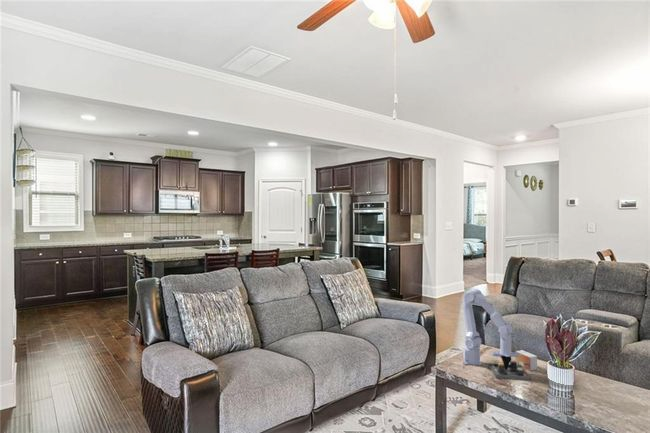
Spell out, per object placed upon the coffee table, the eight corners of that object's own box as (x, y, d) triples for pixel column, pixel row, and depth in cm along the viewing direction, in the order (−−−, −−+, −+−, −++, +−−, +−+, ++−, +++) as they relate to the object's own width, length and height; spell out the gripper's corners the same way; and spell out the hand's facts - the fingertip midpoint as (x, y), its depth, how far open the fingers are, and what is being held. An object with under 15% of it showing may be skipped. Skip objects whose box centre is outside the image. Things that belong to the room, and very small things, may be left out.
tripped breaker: (498, 370, 212) (498, 364, 212) (497, 369, 214) (497, 362, 214) (504, 371, 211) (504, 364, 211) (503, 369, 213) (503, 362, 213)
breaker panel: (496, 378, 206) (496, 368, 206) (488, 366, 221) (488, 357, 221) (531, 380, 203) (531, 370, 203) (521, 368, 218) (521, 359, 218)
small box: (515, 350, 224) (530, 357, 214) (522, 349, 226) (537, 355, 216) (515, 364, 224) (530, 371, 214) (522, 363, 226) (537, 369, 216)
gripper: (494, 347, 209) (494, 371, 210) (521, 348, 207) (522, 372, 207) (490, 342, 216) (490, 366, 216) (517, 344, 214) (517, 367, 214)
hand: (505, 369), depth 212 cm, fingers closed
